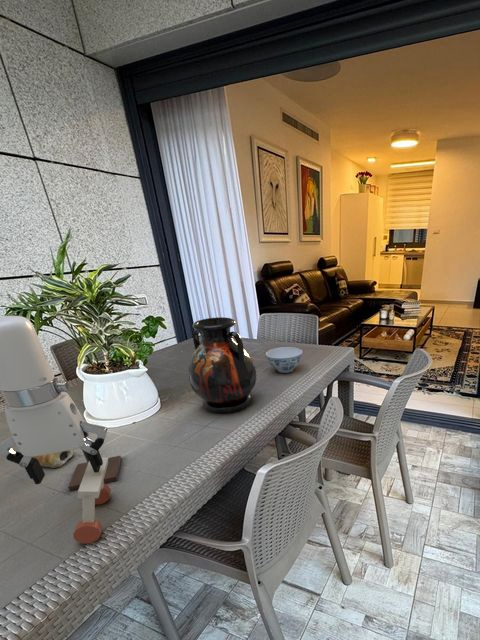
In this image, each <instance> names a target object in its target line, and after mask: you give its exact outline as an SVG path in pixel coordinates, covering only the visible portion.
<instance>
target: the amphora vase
mask: <svg viewBox="0 0 480 640" xmlns="http://www.w3.org/2000/svg"><path fill="white" fill-rule="evenodd" d="M235 325H236V320H235V319H234V318H232V317H224V316H223V317H222V316H221V317H219V316H218V317H209V318H203V319H199V320H196V321H194V322H193V323H192V328H193V329H194V330H193V333H192V341H193V345H194V349H195V350H194V352H193V353H192V356H191V358H190V362H189V365H188V366H189V367H188V381H189V383H190V387H191V389H192V390H193V392H194V393H195V394H196V395H197V396H198V397H199V398H200V399H202V400H203V402H202V405H203V407H204V409H206V410H207V411H208V412H210V413H211V412H212V413H215V414H227V413H228V414H229V413H233V412H234V413H235V412H238V411H240V410H243V409H244V408H245V409H246V408H247V407H248V406H249V405H250V404H251V403H252V401H253V395H252V394H251V393H252V391H253V390H254V387H255V386H256V383H257V378H258V377H257V369H256V365H255V363H254V360H253V358H252V357H251V355H250V354H249V352H248V351H247V350H246V349H245V348H244V343H243V338H242V337H241V335H240V333H238V332H236V331H231V328H233V327H234V326H235ZM200 336H201V340H200Z"/></svg>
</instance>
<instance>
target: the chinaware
mask: <svg viewBox="0 0 480 640" xmlns="http://www.w3.org/2000/svg"><path fill="white" fill-rule="evenodd" d="M265 357H266V359H267V361H268V363H269V364H270V365H271V367H272V368H274V369H276V370H277V372H278V373H282V374H286V373H287V374H288V373H291V372H294V370H295V368H296V367H297V366H298V365H299V363H300V362H301V360H302V357H303V350H302V349H300V348H298V347H293V346H282V347H275V348H271V349H269V350H267V351H266V352H265Z"/></svg>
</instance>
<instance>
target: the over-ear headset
mask: <svg viewBox="0 0 480 640" xmlns="http://www.w3.org/2000/svg"><path fill="white" fill-rule="evenodd" d="M101 458H102V460H103V465H101V466H100V470H99V472H97V473H95V472H94V471H93V468H92V466H91V464H90V461H89V463H88V465H87V468H86V471H85V474H84V476H83V479H82V482H81V484H80V487H79V489H77V499H82V502H81V503H82V505H81V506H82V508H81V509H82V520H80V521H79V522H77V523H76V525H75V527H74V531H73V533H72V537H73V540H74V541H76V542H77V543H80V544H85V545H86V544H92V543H95V542H97V541H98V540H99V539H100V537H101V535H102V530H103V526H102V523H101V522H100V521H98V520H96V518H95V512H96V511H95V509H96V507H95V506H96V505H103V504H105V503H107V502H108V501H109V500H110V497H111V493H112V490H111V487H110V485H108V484H107V483H104V476H105V473H106V469H107V466H108V458H109V457H106V456H105V457H103V456H101Z"/></svg>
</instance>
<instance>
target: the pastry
mask: <svg viewBox="0 0 480 640" xmlns="http://www.w3.org/2000/svg"><path fill="white" fill-rule="evenodd" d="M73 455H74V450H69V451H64V452H58V453H53V454H47V455H41V456H34V457H33V458H36V459H38V461H39V463H40V465H41V467H45V468H51V469H55V468H56V469H57V468H60V467H62V466H63V465H64V464H66V463H67V462H68V460H70V459H71V458H72V457H73Z"/></svg>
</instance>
